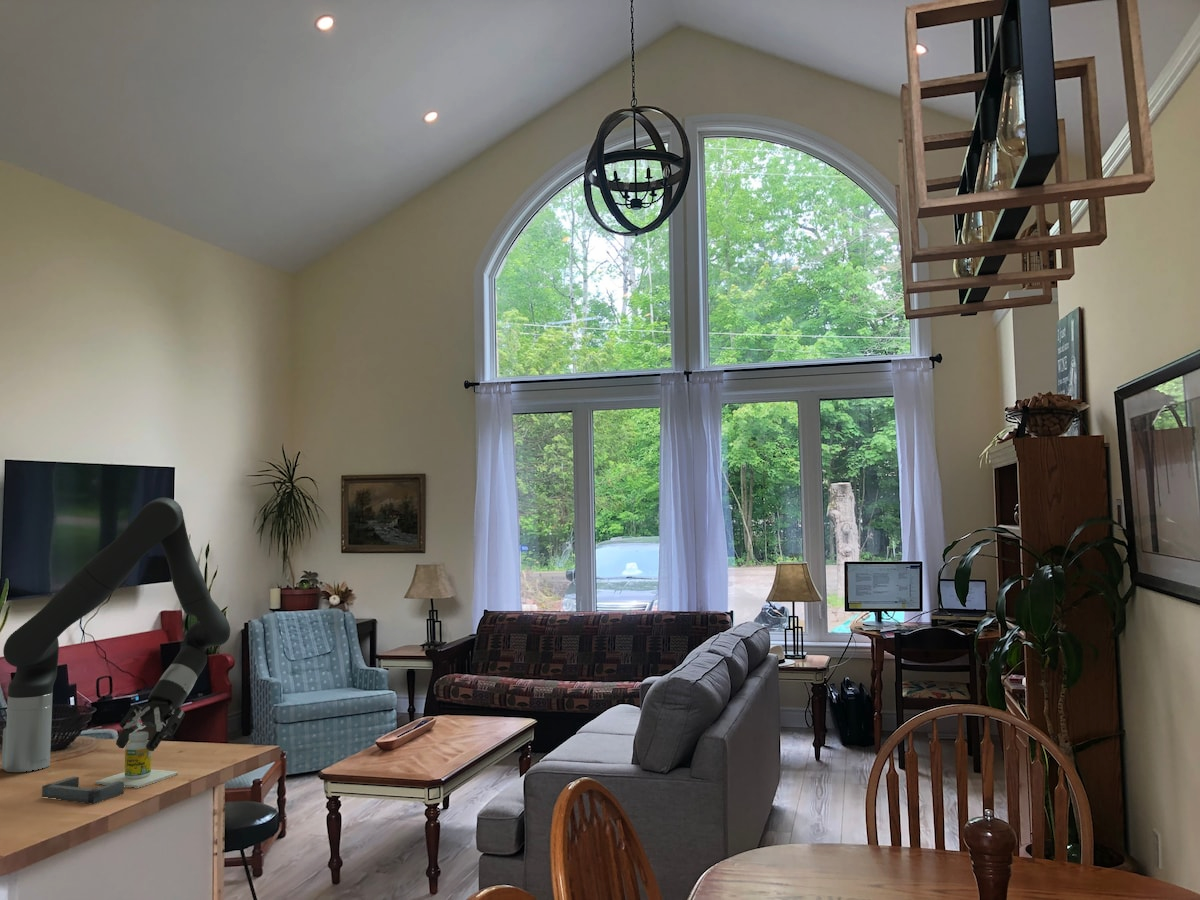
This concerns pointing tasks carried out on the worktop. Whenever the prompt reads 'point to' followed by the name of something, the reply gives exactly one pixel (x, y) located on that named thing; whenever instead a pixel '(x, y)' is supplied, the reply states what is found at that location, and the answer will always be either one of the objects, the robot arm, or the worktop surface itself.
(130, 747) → the supplement bottle
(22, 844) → the worktop surface
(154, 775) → the cream pad
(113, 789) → the bracket
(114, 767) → the worktop surface
